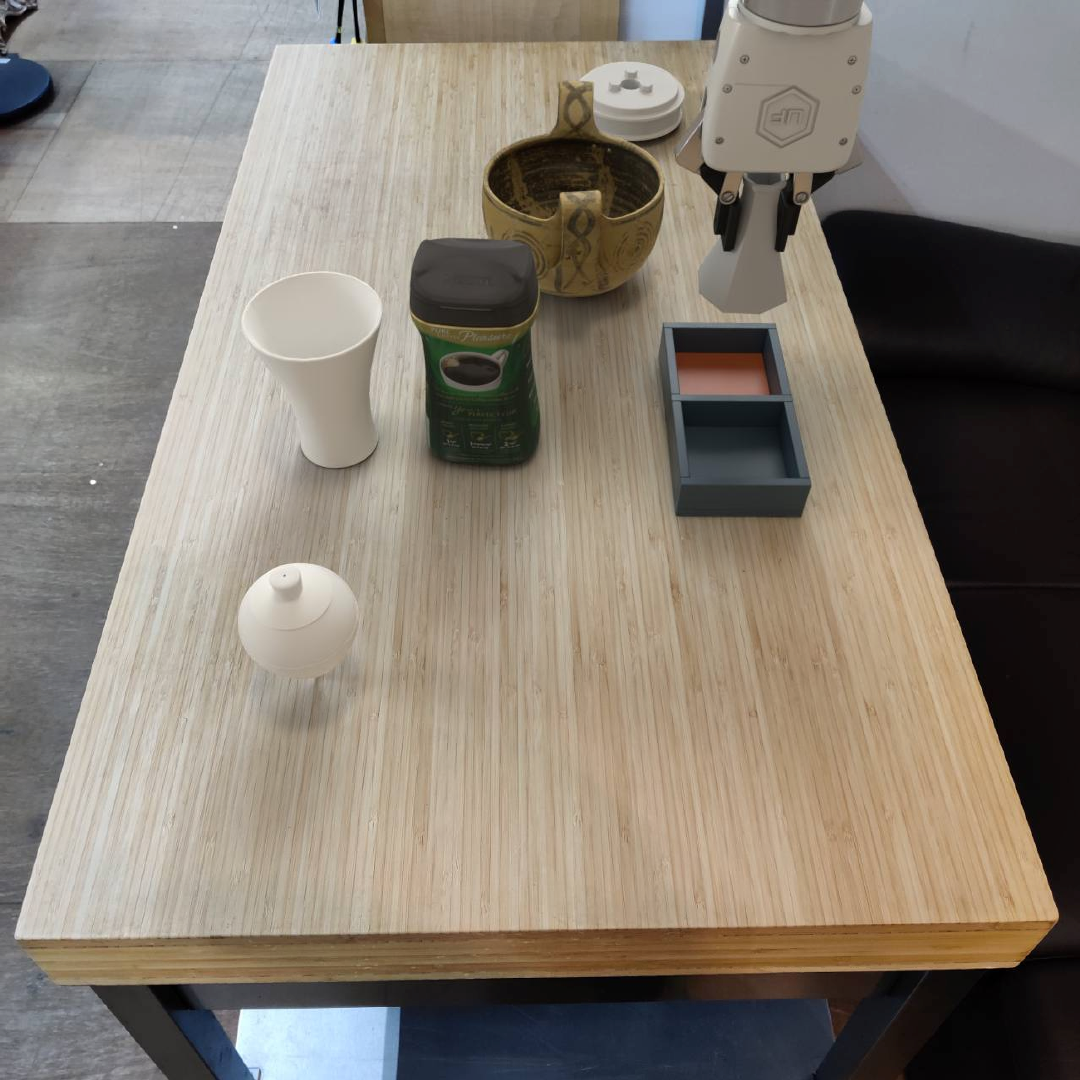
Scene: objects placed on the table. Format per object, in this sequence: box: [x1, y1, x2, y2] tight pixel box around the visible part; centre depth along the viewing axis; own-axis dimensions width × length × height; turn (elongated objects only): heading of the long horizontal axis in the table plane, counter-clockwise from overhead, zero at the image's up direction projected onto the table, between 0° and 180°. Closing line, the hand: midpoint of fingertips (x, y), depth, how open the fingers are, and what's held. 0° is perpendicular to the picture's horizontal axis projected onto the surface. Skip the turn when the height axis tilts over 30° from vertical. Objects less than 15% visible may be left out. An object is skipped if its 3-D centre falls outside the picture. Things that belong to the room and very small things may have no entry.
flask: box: [697, 173, 788, 315], centre depth 74 cm, size 7×7×10 cm
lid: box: [578, 61, 686, 142], centre depth 115 cm, size 13×13×5 cm
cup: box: [240, 270, 384, 469], centre depth 78 cm, size 10×10×14 cm
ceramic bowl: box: [481, 79, 666, 298], centre depth 92 cm, size 22×17×15 cm
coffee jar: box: [408, 237, 541, 467], centre depth 77 cm, size 10×8×19 cm
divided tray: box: [658, 321, 812, 518], centre depth 83 cm, size 19×10×4 cm, turn 0°
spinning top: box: [237, 562, 360, 681], centre depth 65 cm, size 8×8×12 cm
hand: (751, 239), depth 75 cm, fingers closed on flask, 3 cm apart
